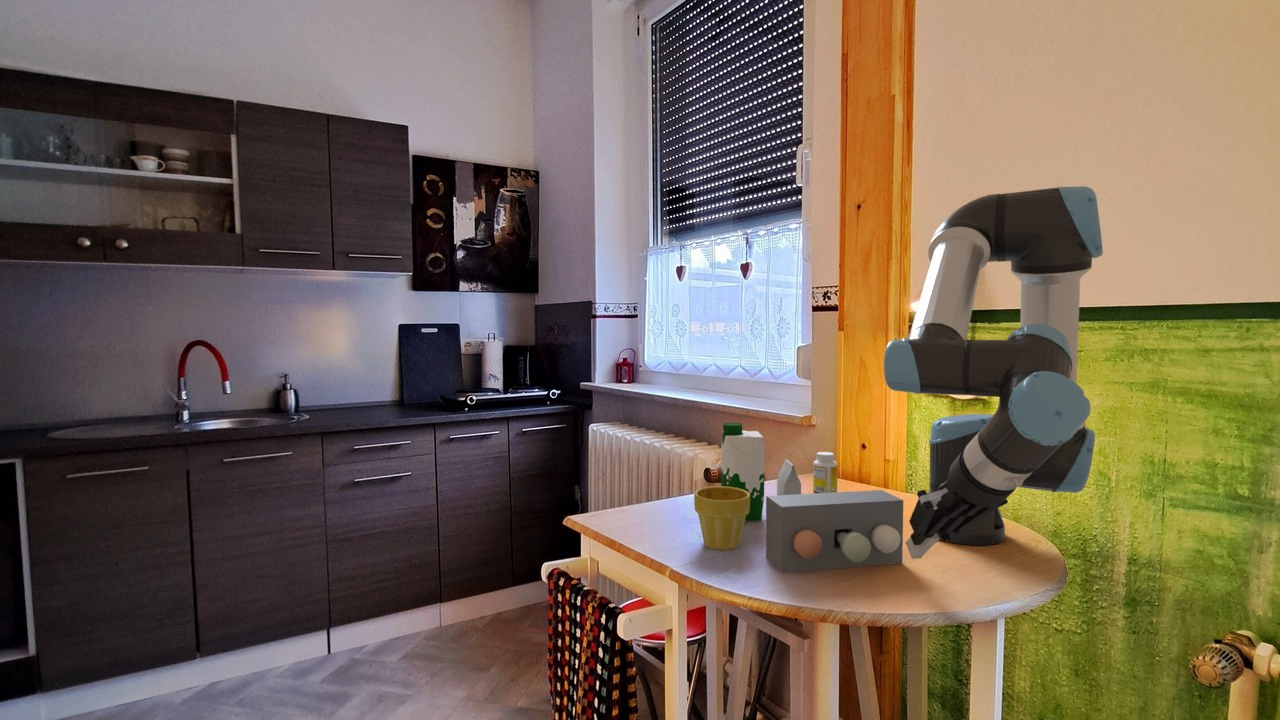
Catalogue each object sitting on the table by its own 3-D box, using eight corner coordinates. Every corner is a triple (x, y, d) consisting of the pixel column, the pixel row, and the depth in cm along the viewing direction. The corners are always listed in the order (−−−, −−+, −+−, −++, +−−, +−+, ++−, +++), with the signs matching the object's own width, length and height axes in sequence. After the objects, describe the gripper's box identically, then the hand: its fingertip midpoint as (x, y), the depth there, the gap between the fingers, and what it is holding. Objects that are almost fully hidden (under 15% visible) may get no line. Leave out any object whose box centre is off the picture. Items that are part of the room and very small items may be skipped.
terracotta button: (807, 545, 112) (807, 520, 112) (822, 557, 106) (822, 531, 106) (783, 547, 111) (783, 522, 111) (796, 559, 106) (797, 533, 106)
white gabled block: (784, 510, 144) (784, 465, 143) (777, 502, 150) (777, 459, 150) (800, 510, 144) (801, 465, 143) (792, 502, 151) (793, 459, 150)
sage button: (853, 549, 111) (853, 523, 110) (870, 561, 105) (871, 534, 105) (828, 550, 110) (829, 525, 110) (845, 563, 104) (845, 536, 104)
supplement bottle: (834, 492, 159) (835, 451, 158) (839, 498, 153) (839, 455, 153) (811, 492, 159) (811, 450, 159) (815, 498, 154) (815, 455, 153)
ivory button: (881, 541, 115) (881, 516, 114) (900, 552, 109) (900, 526, 109) (858, 542, 114) (858, 517, 114) (876, 553, 108) (876, 528, 108)
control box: (880, 549, 118) (881, 490, 118) (902, 563, 111) (903, 500, 111) (765, 557, 115) (766, 495, 114) (781, 572, 108) (781, 506, 107)
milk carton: (719, 510, 144) (719, 421, 143) (760, 510, 143) (760, 421, 142) (723, 522, 135) (723, 427, 134) (767, 522, 135) (767, 427, 134)
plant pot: (747, 555, 115) (748, 501, 115) (690, 551, 118) (690, 498, 117) (751, 537, 126) (751, 487, 125) (698, 533, 128) (698, 484, 127)
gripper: (957, 496, 80) (883, 576, 98) (1050, 490, 83) (961, 570, 100) (932, 445, 85) (865, 530, 103) (1020, 442, 87) (940, 525, 105)
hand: (913, 550), depth 101 cm, fingers closed
